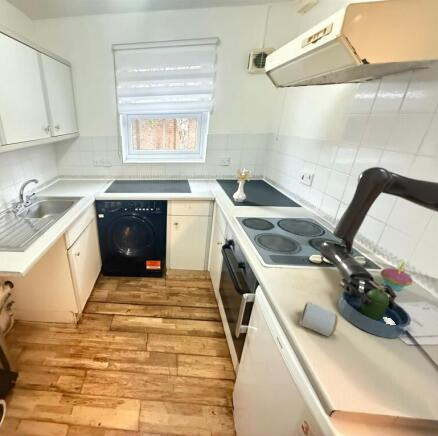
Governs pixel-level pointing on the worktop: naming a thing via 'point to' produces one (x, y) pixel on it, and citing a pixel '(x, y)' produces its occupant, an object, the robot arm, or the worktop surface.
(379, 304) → the green rounded cylinder
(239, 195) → the flower vase
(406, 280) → the cupcake
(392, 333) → the bowl
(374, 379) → the worktop surface
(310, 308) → the ceramic mug
